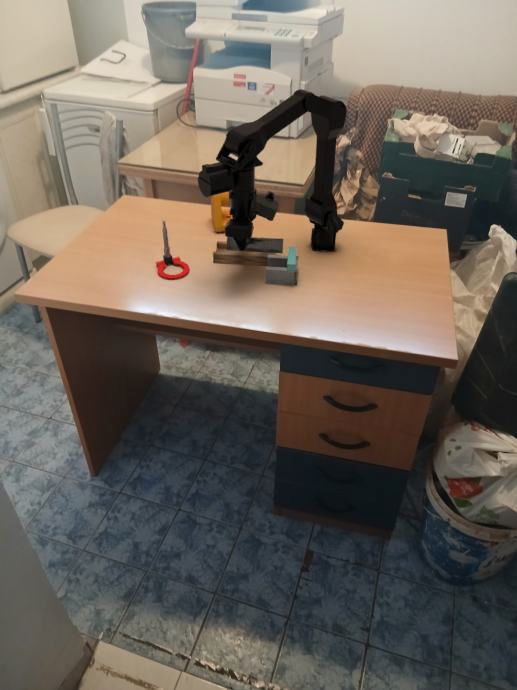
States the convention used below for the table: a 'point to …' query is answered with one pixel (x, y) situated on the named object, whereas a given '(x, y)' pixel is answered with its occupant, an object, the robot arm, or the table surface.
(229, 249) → the rod
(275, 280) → the socket
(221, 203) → the bracket
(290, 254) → the teal rectangular block
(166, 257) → the tow hook
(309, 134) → the table surface
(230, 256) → the rail
